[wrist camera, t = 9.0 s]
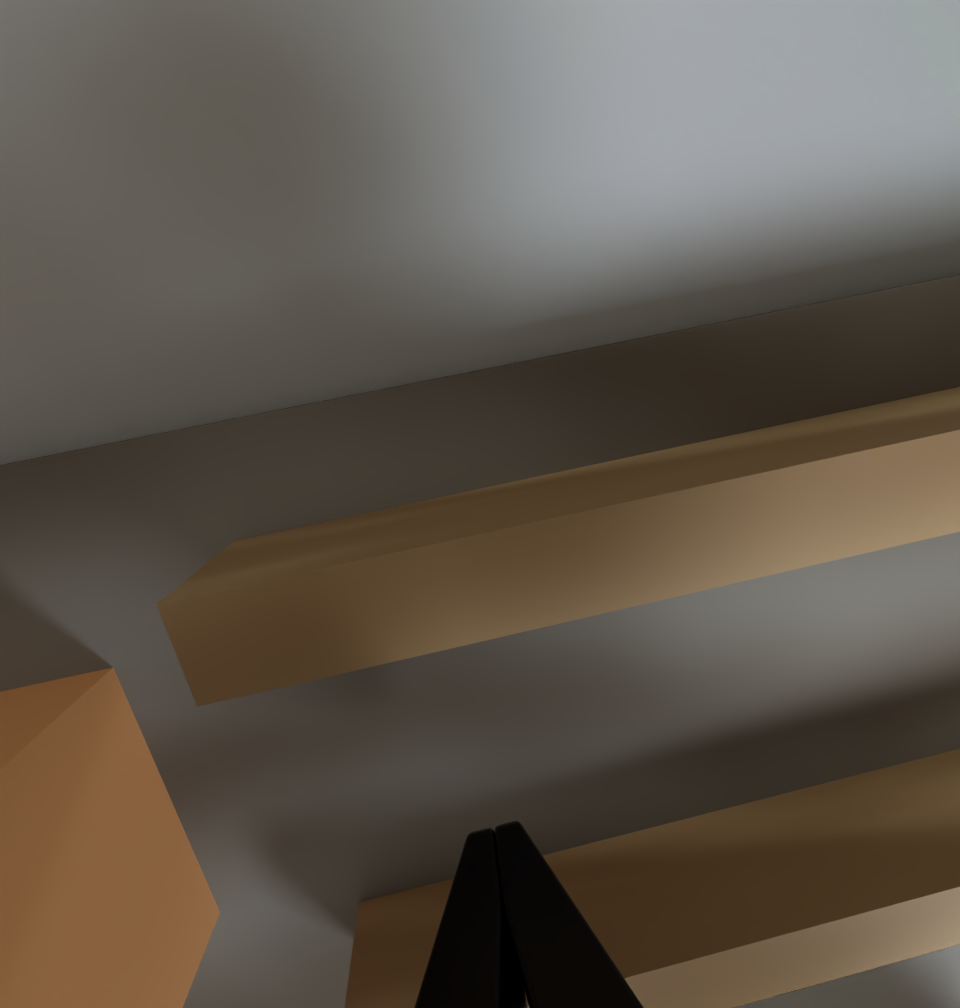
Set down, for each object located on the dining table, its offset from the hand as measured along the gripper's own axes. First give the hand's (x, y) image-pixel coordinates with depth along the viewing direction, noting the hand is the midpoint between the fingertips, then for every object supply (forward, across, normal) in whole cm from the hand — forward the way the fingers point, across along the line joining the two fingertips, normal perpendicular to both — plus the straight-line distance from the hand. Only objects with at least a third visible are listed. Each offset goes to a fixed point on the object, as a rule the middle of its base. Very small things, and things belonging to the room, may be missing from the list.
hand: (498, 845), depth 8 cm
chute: (+3, -1, 0) cm, 3 cm away
